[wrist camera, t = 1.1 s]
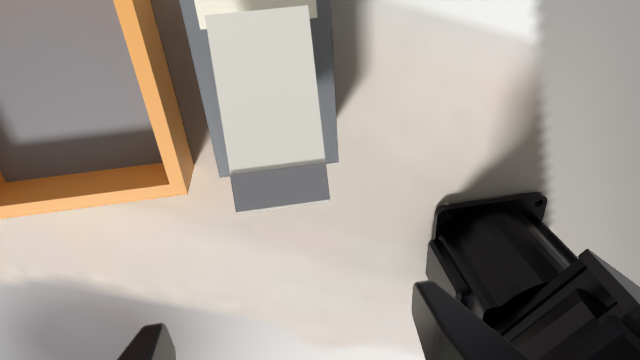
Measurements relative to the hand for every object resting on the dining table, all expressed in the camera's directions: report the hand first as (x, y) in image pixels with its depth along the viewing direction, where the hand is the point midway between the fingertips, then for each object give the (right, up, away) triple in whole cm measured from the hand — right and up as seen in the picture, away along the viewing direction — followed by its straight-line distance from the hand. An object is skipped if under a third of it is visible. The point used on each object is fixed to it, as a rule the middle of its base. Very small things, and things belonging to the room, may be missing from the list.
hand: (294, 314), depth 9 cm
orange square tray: (-10, +7, +8) cm, 15 cm away
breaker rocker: (-1, +5, +5) cm, 7 cm away
